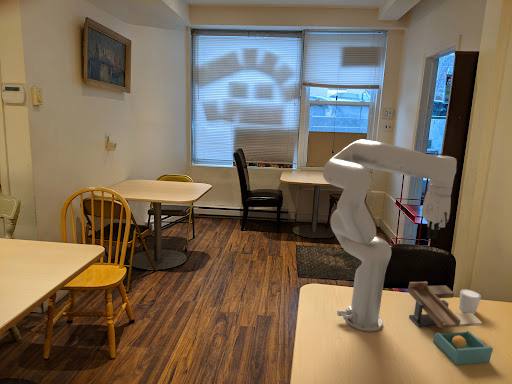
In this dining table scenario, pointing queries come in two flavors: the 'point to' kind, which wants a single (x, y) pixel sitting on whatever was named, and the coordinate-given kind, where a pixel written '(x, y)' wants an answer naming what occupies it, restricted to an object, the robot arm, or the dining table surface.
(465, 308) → the white cup
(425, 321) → the lever stand
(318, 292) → the dining table surface
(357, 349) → the dining table surface
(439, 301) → the walnut lever
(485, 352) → the teal tray
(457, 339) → the orange ball
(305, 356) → the dining table surface
